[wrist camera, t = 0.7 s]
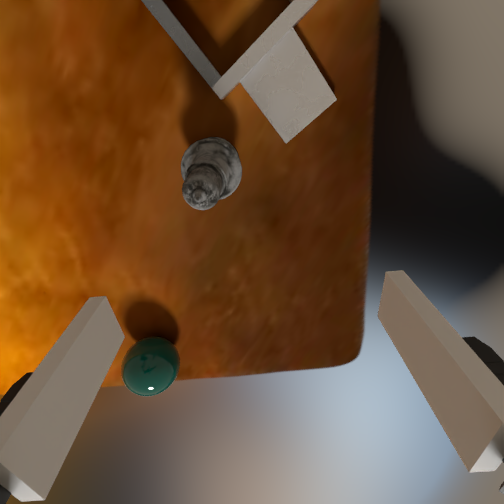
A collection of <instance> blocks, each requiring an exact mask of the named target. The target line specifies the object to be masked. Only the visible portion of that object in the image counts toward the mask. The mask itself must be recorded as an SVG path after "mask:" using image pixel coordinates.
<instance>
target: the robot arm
mask: <svg viewBox="0 0 504 504" xmlns="http://www.w3.org/2000/svg"><path fill="white" fill-rule="evenodd" d="M378 318H379V320H380V321H381V323H382V325H383V326H384V328H385V330H386V332H387V333H388V335H389V337H390V338H391V340H392V342H393V343H394V345H395V347H396V349H397V350H398V352H399V354H400V355H401V357H402V359H403V360H404V362H405V364H406V366H407V367H408V369H409V371H410V372H411V374H412V376H413V378H414V379H415V381H416V383H417V384H418V386H419V388H420V390H421V391H422V393H423V395H424V396H425V398H426V400H427V402H428V403H429V405H430V407H431V408H432V410H433V412H434V414H435V415H436V417H437V419H438V420H439V422H440V424H441V425H442V427H443V429H444V431H445V432H446V434H447V436H448V437H449V439H450V441H451V442H452V444H453V446H454V448H455V449H456V451H457V453H458V455H459V456H460V458H461V460H462V461H463V463H464V465H465V466H466V468H467V470H468V471H469V472H483V471H495V470H496V469H497V467H498V466H499V465H500V464H501V462H502V461H503V462H504V361H503V360H502V359H501V358H500V357H499V356H498V355H497V354H496V353H495V352H494V350H493V349H492V348H490V347H489V346H488V345H486V344H485V343H482V342H481V341H480V340H478V339H477V338H475V337H464V338H462V337H461V336H460V335H459V334H458V333H457V332H456V331H455V329H454V328H453V327H452V326H451V325H450V324H449V323H448V321H447V320H446V319H445V318H444V317H443V316H442V315H441V313H440V312H439V311H438V310H437V309H436V308H435V307H434V305H433V304H432V303H431V302H430V301H429V300H428V299H427V297H426V296H425V295H424V294H423V293H422V292H421V291H420V289H419V288H418V287H417V286H416V285H415V284H414V283H413V281H412V280H411V279H410V278H409V277H408V276H407V275H406V274H405V273H404V271H403V270H402V271H390V272H386V275H385V280H384V285H383V290H382V295H381V301H380V306H379V311H378ZM124 337H125V336H124V334H123V332H122V330H121V328H120V326H119V324H118V321H117V319H116V317H115V315H114V313H113V311H112V309H111V306H110V304H109V302H108V300H107V298H106V296H101V297H90V298H89V299H88V301H87V302H86V303H85V305H84V306H83V307H82V309H81V310H80V311H79V313H78V314H77V315H76V317H75V318H74V319H73V320H72V322H71V323H70V324H69V326H68V327H67V328H66V330H65V331H64V332H63V334H62V335H61V336H60V338H59V339H58V340H57V342H56V343H55V344H54V346H53V347H52V348H51V350H50V351H49V352H48V354H47V355H46V356H45V358H44V359H43V360H42V362H41V363H40V364H39V366H38V367H37V368H36V370H35V371H34V372H30V373H26V374H25V375H24V376H23V377H22V378H20V379H19V380H18V381H17V382H16V383H15V384H13V385H12V386H11V388H10V389H9V390H8V391H7V393H6V394H5V395H4V396H3V398H2V399H1V402H0V504H6V502H7V500H8V499H9V497H10V495H11V494H12V495H13V496H15V497H16V498H17V499H19V500H20V501H21V502H22V501H37V500H45V499H46V497H47V494H48V493H49V490H50V488H51V486H52V484H53V482H54V480H55V478H56V476H57V474H58V472H59V470H60V468H61V466H62V464H63V462H64V460H65V458H66V456H67V454H68V451H69V450H70V448H71V446H72V444H73V441H74V439H75V437H76V435H77V433H78V431H79V429H80V427H81V425H82V423H83V421H84V419H85V417H86V415H87V413H88V411H89V408H90V407H91V405H92V403H93V401H94V399H95V397H96V394H97V392H98V390H99V388H100V386H101V384H102V382H103V380H104V378H105V376H106V374H107V372H108V370H109V368H110V366H111V364H112V362H113V360H114V358H115V356H116V354H117V352H118V350H119V348H120V346H121V344H122V342H123V339H124ZM499 492H501V493H503V494H504V482H503V483H502V484H501V487H500V489H499Z"/></svg>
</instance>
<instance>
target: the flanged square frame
mask: <svg viewBox="0 0 504 504" xmlns="http://www.w3.org/2000/svg"><path fill="white" fill-rule="evenodd" d="M317 1H318V0H289V2H290V3H291V4H290V5H289V6H288V7H287V8H286V9H285V10H284V11H283V12H282V13H281V14H280V15H279V17H278V18H277V19H276V20H275V21H274V22H273V23H272V24H271V25H270V26H269V27H268V28H267V29H266V30H265V31H264V33H263V34H262V35H261V36H260V37H259V38H258V39H257V40H256V41H255V42H254V43H253V44H252V45H251V46H250V47H249V49H248V50H247V51H246V52H245V53H244V54H243V55H242V56H241V57H240V58H239V59H238V60H237V61H236V62H235V63H234V64H233V66H232V67H231V68H230V69H229V70H228V71H227V72H226V73H225V74H224V75H223V76H221V75H220V73H219V72H218V71H217V70H216V68H215V67H214V66H213V64H212V63H211V62H210V60H209V59H208V58H207V57H206V55H205V54H204V53H203V51H202V50H201V49H200V47H199V46H198V45H197V44H196V42H195V41H194V40H193V38H192V37H191V36H190V34H189V33H188V32H187V31H186V29H185V28H184V27H183V25H182V24H181V23H180V21H179V20H178V19H177V18H176V16H175V15H174V14H173V12H172V11H171V10H170V8H169V7H168V6H167V5H166V3H165V2H164V1H163V0H142V2H143V3H144V4H145V5H146V7H147V8H148V9H149V10H150V12H151V13H152V14H153V15H154V17H155V18H156V19H157V20H158V22H159V23H160V24H161V25H162V27H163V28H164V29H165V30H166V32H167V33H168V34H169V35H170V37H171V38H172V39H173V40H174V42H175V43H176V44H177V45H178V47H179V48H180V49H181V50H182V52H183V53H184V54H185V55H186V57H187V58H188V59H189V60H190V62H191V63H192V64H193V65H194V67H195V68H196V69H197V70H198V72H199V73H200V74H201V75H202V77H203V78H204V79H205V80H206V82H207V83H208V84H209V85H210V87H211V88H212V89H213V90H214V92H215V93H216V94H217V95H218V97H219V98H220V99H221V100H223V99H224V98H225V97H226V96H227V95H228V94H229V93H230V92H231V91H232V90H233V89H234V88H235V87H236V86H237V85H238V84H239V83H241V84H242V85H243V87H244V88H245V89H246V91H247V92H248V93H249V95H250V96H251V97H252V99H253V100H254V101H255V103H256V104H257V105H258V107H259V108H260V109H261V111H262V112H263V113H264V115H265V116H266V117H267V119H268V120H269V121H270V123H271V124H272V125H273V127H274V128H275V129H276V131H277V132H278V133H279V135H280V136H281V137H282V139H283V140H284V141H285V143H287V142H289V141H290V140H291V139H292V138H293V137H294V136H295V135H297V134H298V133H299V132H300V131H301V130H302V129H303V128H305V127H306V126H307V125H308V124H309V123H310V122H312V121H313V120H314V119H315V118H316V117H317V116H318V115H320V114H321V113H322V112H323V111H324V110H325V109H326V108H328V107H329V106H330V105H331V104H332V103H333V102H335V101H336V100H337V99H336V97H335V95H334V94H333V92H332V90H331V89H330V87H329V86H328V84H327V82H326V81H325V79H324V77H323V76H322V74H321V72H320V71H319V69H318V68H317V66H316V64H315V63H314V61H313V59H312V58H311V56H310V55H309V53H308V51H307V50H306V48H305V46H304V45H303V43H302V42H301V40H300V38H299V37H298V35H297V33H296V32H295V30H294V26H295V25H296V24H297V23H298V22H299V21H300V20H301V19H302V18H303V17H304V16H305V15H306V14H307V13H308V12H309V11H310V10H311V9H312V8H313V6H314V5H315V4H316V2H317Z"/></svg>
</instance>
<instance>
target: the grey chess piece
mask: <svg viewBox="0 0 504 504" xmlns="http://www.w3.org/2000/svg"><path fill="white" fill-rule="evenodd" d="M181 173H182V177H183V180H184V183H183V187H182V192H183V196H184V199H185V200H186V202H187V203H188V204H189V205H190V206H191V207H193V208H195V209H199V210H206V209H210V208H211V207H213V206H214V205H215V204H216V203H217V202H218V200H219V199H224V198H226V197H227V196H229V195H231V194H232V193H233V192H234V191H235V190H236V188H237V187H238V185H239V183H240V180H241V176H242V167H241V163H240V159H239V156H238V153H237V151H236V149H235V148H234V147H233V146H232V145H231V143H229V142H228V141H226V140H225V139H222V138H219V137H209V138H206V139H202V140H198V141H197V142H195V143H193V144H192V145H190V147H189V148H188V149H187V150H186V151H185V153H184V155H183V157H182V162H181Z"/></svg>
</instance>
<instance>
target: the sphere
mask: <svg viewBox="0 0 504 504" xmlns="http://www.w3.org/2000/svg"><path fill="white" fill-rule="evenodd" d="M179 366H180V357H179V354H178V351H177V349H176V347H175V346H174V345H173V344H172V343H171V342H170V341H169V340H167V339H165V338H162V337H157V336H152V337H147V338H144V339H141V340H139V341H138V342H136V343H135V344H134V345H132V346H131V347H130V348H129V350H128V351H127V353H126V355H125V356H124V358H123V361H122V365H121V376H122V379H123V381H124V383H125V385H126V387H127V388H128V389H129V390H130V391H131V392H133V393H135V394H137V395H140V396H153V395H157V394H159V393H161V392H163V391H164V390H166V389H167V388H168V387H169V386H170V385H171V384H172V383H173V382H174V380H175V379H176V377H177V375H178V372H179Z"/></svg>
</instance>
